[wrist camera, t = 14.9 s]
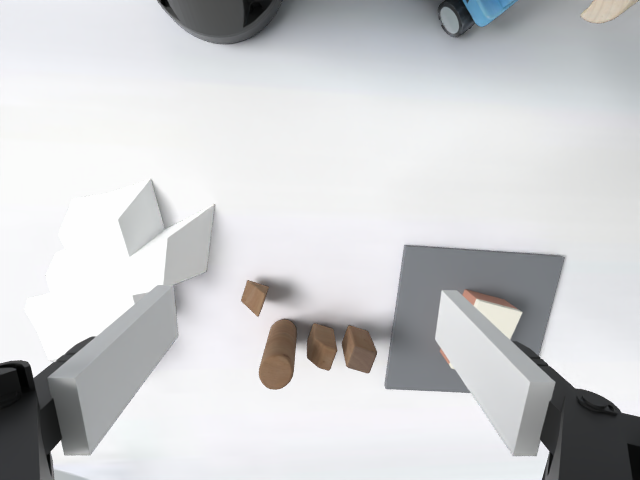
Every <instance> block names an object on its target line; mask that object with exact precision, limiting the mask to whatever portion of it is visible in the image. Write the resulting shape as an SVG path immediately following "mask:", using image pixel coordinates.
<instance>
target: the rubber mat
mask: <svg viewBox="0 0 640 480" xmlns="http://www.w3.org/2000/svg"><path fill="white" fill-rule="evenodd" d="M564 258H565V257H562V256H557V255H542V254H527V253H513V252H498V251H483V250H469V249H454V248H439V247H425V246H410V245H404V251H403V258H402V265H401V272H400V279H399V286H398V293H397V300H396V308H395V315H394V322H393V329H392V336H391V343H390V350H389V357H388V364H387V371H386V378H385V388H386V389H399V390H420V391H441V392H462V393H470V391H469V390H468V388H467V387H466V385H465V384H464V382H463V381H462V379H461V378H460V376H459V375H458V373H457V372H456V370H455V369H452V368H451V367H450V366H449V364H448V363H447V361H446V360H445V358H444V357H443V356H442V354H441V353H440V349H441V348H440V346H439V345H438V343H437V342H436V340H435V335H436V328H437V320H438V313H439V306H440V299H441V292H442V290H457V291H458V292H459V293H460V294H461V295H463V292H464V290H465V289H466V290H470V291H474V292H478V293H482V294H485V295H489V296H493V297H497V298H501V299H504V300H506V301H507V302H509V303H510V304H511V305H513V306H514V307H516V308H517V309H519V310H520V311H521V312H523V313H522V315H521V317H520V319H519V321H518V324H517V326H516V328H515V330H514V332H513V335H512V337H511V339H510V340H511V341H517V342H519V343H521V344H523V345H525V346H526V347H528V348H530V349H531V350H532V351H533V352H535V353H536V354H537V355H538V356H539V353H540V349H541V345H542V341H543V338H544V334H545V330H546V326H547V322H548V319H549V315H550V311H551V307H552V303H553V300H554V296H555V292H556V288H557V284H558V281H559V277H560V273H561V269H562V265H563V262H564Z"/></svg>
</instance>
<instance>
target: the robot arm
mask: <svg viewBox="0 0 640 480" xmlns="http://www.w3.org/2000/svg"><path fill="white" fill-rule="evenodd" d="M157 1H158V3H159V4H160V5H161V7H162V8H163V9H164V10H165V12H166V13H167V14H168V15H169V16H170V17H171V18H172V19H173V20H174V21H175V22H176V23H177V24H178V25H179V26H180V27H181V28H183V29H184V30H185V31H187V32H188V33H190V34H191V35H193V36H195V37H197V38H199V39H202V40H205V41H208V42H212V43H219V44H229V43H236V42H240V41H243V40H246V39H248V38H250V37H252V36H254V35H256V34H257V33H259V32H260V31H261V30H262V29H264V28H265V27H266V26H267V25H268V23H269V22H270V21H271V20H272V19H273V17H274V16H275V14H276V12H277V11H278V9H279V7H280V5H281V2H282V0H157ZM177 337H178V326H177V315H176V305H175V294H174V285H157V286H156V287H154V288H153V289H152V290H151V291H150V292H148V293H147V294H146V295H145V296H144V297H143V298H141V299H140V300H139V301H138V302H137V303H135V304H134V305H133V306H132V307H131V308H129V309H128V310H127V311H126V312H125V313H124V314H122V315H121V316H120V317H119V318H118V319H116V320H115V321H114V322H113V323H112V324H110V325H109V326H108V327H107V328H106V329H104V330H103V331H102V332H101V333H100V334H99V335H97V336H91V337H89V338H87V339H85V340H83V341H81V342H79V343H77V344H76V345H74V346H73V347H72V348H71V349H69V350H68V351H67V352H66V353H65V355H62V356H61V357H60V358H58V359H57V360H56V362H53V363H52V364H51V365H50V366H48V367H47V368H46V369H45V370H43V371H42V372H41V373H40V374H38V375H37V376H36V377H35V378H33V375H32V371H31V367H30V364H29V363H28V362H26V361H22V360H20V361H9V362H4V363H0V480H54V471H53V460H52V456H51V452H50V451H51V450H52V449H53V448H54V447H55V446H56V445H57V444H58V442H59V441H60V440H61V442H62V447H63V451H64V455H91V454H92V452H93V451H94V450H95V448H96V447H97V446H98V444H99V443H100V441H101V440H102V439H103V437H104V436H105V435H106V433H107V432H108V431H109V429H110V428H111V427H112V425H113V424H114V422H115V421H116V420H117V418H118V417H119V416H120V414H121V413H122V412H123V410H124V409H125V408H126V406H127V405H128V403H129V402H130V401H131V399H132V398H133V397H134V395H135V394H136V393H137V391H138V390H139V389H140V387H141V386H142V385H143V383H144V382H145V380H146V379H147V378H148V376H149V375H150V374H151V372H152V371H153V370H154V368H155V367H156V366H157V364H158V363H159V361H160V360H161V359H162V357H163V356H164V355H165V353H166V352H167V351H168V349H169V348H170V347H171V345H172V344H173V343H174V341H175V340H176V338H177ZM435 340H436V342H437V343H438V345H439V346H440V348H441V349H442V351H443V352H444V354H445V355H446V357H447V358H448V360H449V361H450V363H451V364H452V366H453V367H454V369H455V370H456V372H457V373H458V375H459V376H460V378H461V379H462V381H463V382H464V384H465V385H466V387H467V388H468V390H469V391H470V393H471V394H472V396H473V397H474V399H475V400H476V402H477V403H478V405H479V406H480V408H481V409H482V411H483V412H484V414H485V415H486V417H487V418H488V420H489V421H490V423H491V424H492V426H493V427H494V429H495V430H496V432H497V433H498V435H499V436H500V438H501V439H502V441H503V442H504V444H505V445H506V447H507V448H508V450H509V451H510V453H511V454H512V456H537V452H538V448H539V444H540V440H541V441H542V442H543V444H544V445H545V446H546V447H547V449H548V450H549V451H550V452H549V456H548V460H547V463H546V467H545V471H544V474H543V478H542V480H640V417H638V416H633V415H629V414H624V413H621V411H620V410H619V409H618V408H617V407H616V406H615V405H614V404H613V403H612V402H610V401H609V400H607V399H605V398H604V397H602V396H600V395H598V394H595V393H593V392H590V391H586V390H583V389H575V388H574V387H573V386H572V385H571V384H570V383H568V382H567V381H566V380H565V379H564V378H563V377H562V376H560V375H559V374H558V373H557V372H556V371H555V370H554V369H553V368H551V367H550V366H548V364H547V363H546V362H545V361H544V360H542V359H540V357H539V356H538V355H537V354H536V353H535V352H533V351H532V350H531V349H530V348H528V347H526V346H525V345H523V344H521V343H519V342H517V341H511V340H510V339H509V338H508V337H506V336H505V335H504V334H503V333H502V332H501V331H500V330H499V329H498V328H497V327H496V326H495V325H494V324H493V323H491V322H490V321H489V320H488V319H487V318H486V317H485V316H484V315H483V314H482V313H481V312H480V311H479V310H478V309H476V308H475V307H474V306H473V305H472V304H471V303H470V302H469V301H468V300H467V299H466V298H465V297H464V296H463V295H461V294H460V293H459V292H458V291H457V290H442V292H441V299H440V306H439V313H438V320H437V328H436V335H435Z"/></svg>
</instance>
